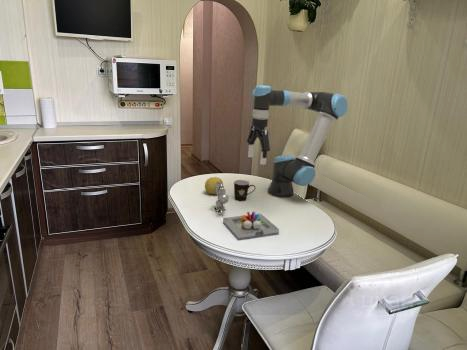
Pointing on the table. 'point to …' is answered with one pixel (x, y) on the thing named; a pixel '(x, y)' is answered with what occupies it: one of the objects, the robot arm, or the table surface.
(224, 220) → the plate
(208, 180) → the fruit
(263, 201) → the table surface
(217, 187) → the robot toy
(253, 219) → the colorful rounded-lobe toy
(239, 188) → the coffee mug
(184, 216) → the table surface
